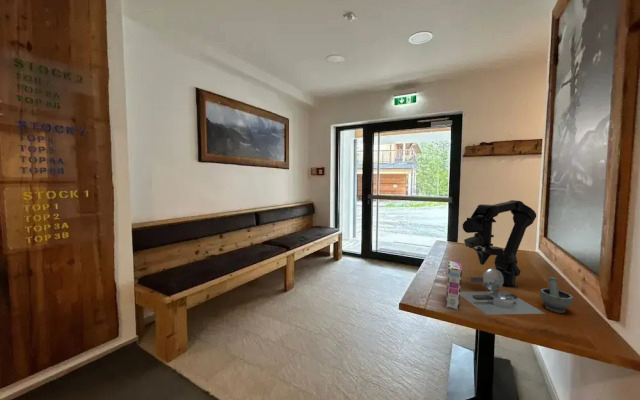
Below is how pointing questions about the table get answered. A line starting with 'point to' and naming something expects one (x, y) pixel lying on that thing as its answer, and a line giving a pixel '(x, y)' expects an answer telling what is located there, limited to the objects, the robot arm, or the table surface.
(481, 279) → the lid
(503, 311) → the slate board
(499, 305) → the cooker pot
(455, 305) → the candy bar box
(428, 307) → the table surface
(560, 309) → the mortar and pestle
